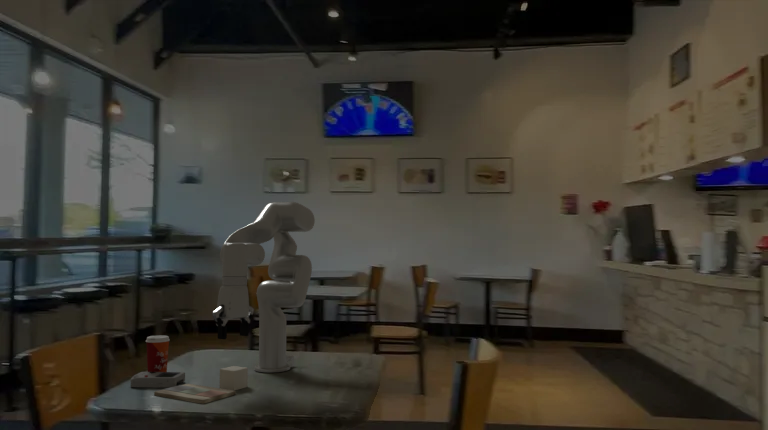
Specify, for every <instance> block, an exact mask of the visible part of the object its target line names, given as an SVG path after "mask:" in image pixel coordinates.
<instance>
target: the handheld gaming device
mask: <svg viewBox="0 0 768 430" xmlns="http://www.w3.org/2000/svg"><path fill="white" fill-rule="evenodd" d="M184 382H186V372H183V371H181V372H179V371H176V372H173V371H169V372H168V371H167V372H148V371H141V372H138V373H136V374H134V375H133V376H132V377H131V378H130V387H131V388H154V389H155V388H156V389H157V388H158V389H161V388H162V389H166V388H170V387H175V386H178V385H177V383H178V384H182V383H183V384H184Z"/></svg>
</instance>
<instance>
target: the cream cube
mask: <svg viewBox="0 0 768 430" xmlns="http://www.w3.org/2000/svg"><path fill="white" fill-rule="evenodd" d="M248 372H249V368H248V367H244V366H237V365H232V366H228V367H222V368H219V388H220V389H226V390H233V391H237V390H240V389H245V388H248V383H249V382H248V376H249V375H248V374H249V373H248Z"/></svg>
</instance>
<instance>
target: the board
mask: <svg viewBox="0 0 768 430" xmlns="http://www.w3.org/2000/svg"><path fill="white" fill-rule="evenodd" d="M153 395H154V396H157V397H163V398H168V399H175V400H179V401H186V402H192V403H196V404H202V405H203V404H206V403H210V402H211V403H212V402H214V401H218V400H221V399H224V398H229V397H232V396H234V395H237V390H234V391H233V390H227V389H220V387H219V388H218V387H213V386H208V385H207V386H206V385H200V384H195V383H194V384H193V383H185V384H184V383H183V384H179V385H176V386H175V387H170V388H163V389H161V390H157V391H154V392H153Z"/></svg>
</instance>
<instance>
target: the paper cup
mask: <svg viewBox="0 0 768 430" xmlns="http://www.w3.org/2000/svg"><path fill="white" fill-rule="evenodd" d="M170 341H171V340H170V336H168V335H160V334H159V335H150V336H147V337H146V340H145V342H146V362H147V365H146V366H147V367H146V368H147V372H168V359H169V348H170V347H169V346H170Z"/></svg>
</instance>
